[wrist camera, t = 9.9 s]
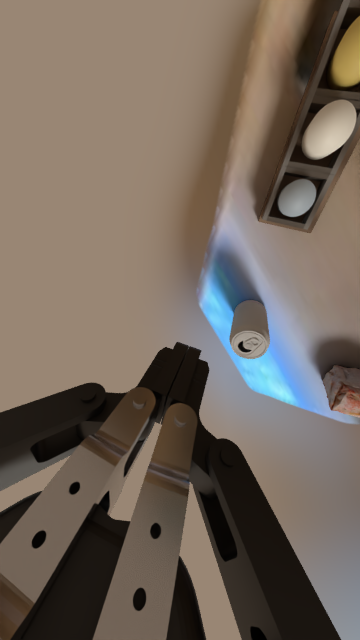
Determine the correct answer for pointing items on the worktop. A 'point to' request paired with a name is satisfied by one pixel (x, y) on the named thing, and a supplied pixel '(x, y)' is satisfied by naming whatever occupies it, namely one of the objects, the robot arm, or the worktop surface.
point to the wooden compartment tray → (314, 99)
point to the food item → (343, 390)
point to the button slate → (296, 198)
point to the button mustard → (346, 61)
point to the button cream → (329, 129)
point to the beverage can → (250, 330)
